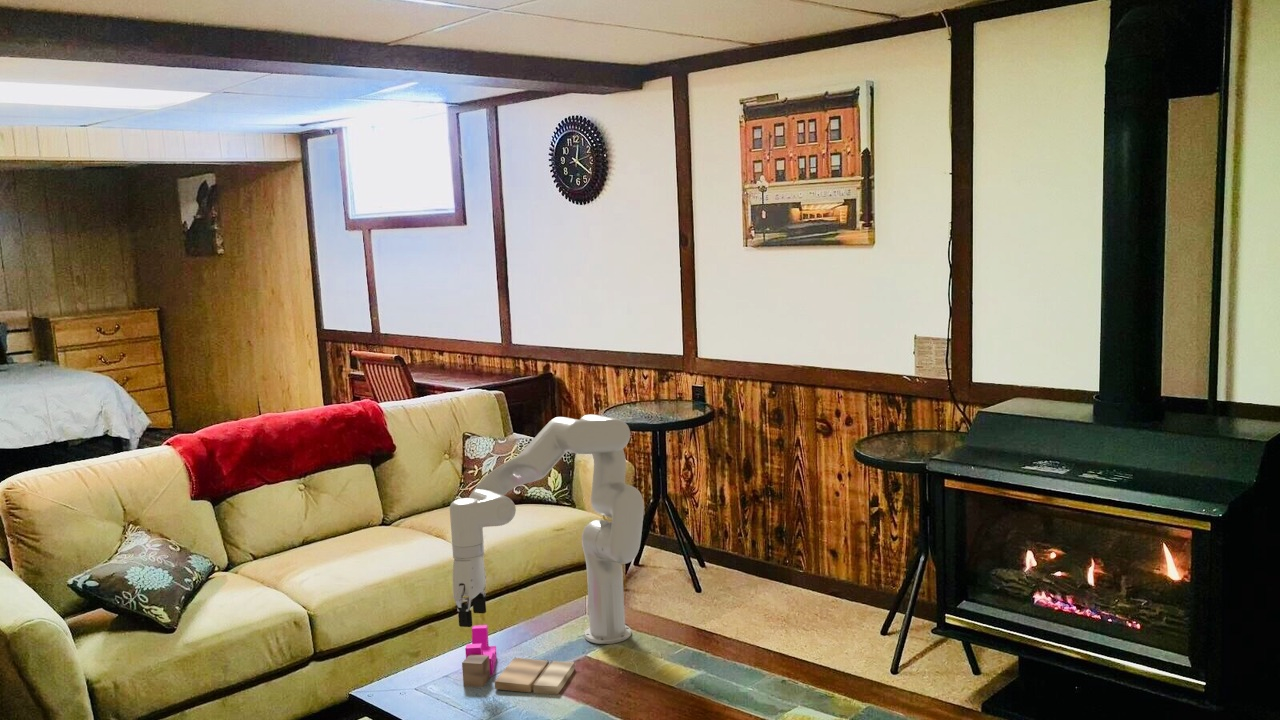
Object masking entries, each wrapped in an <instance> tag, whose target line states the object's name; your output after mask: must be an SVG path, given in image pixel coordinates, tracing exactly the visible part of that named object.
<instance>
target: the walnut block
mask: <svg viewBox="0 0 1280 720" xmlns="http://www.w3.org/2000/svg"><path fill="white" fill-rule="evenodd" d="M461 664H462V665H461V666H462V667H461V669H462V680H463V687H470V688H471V687H472V688H474V687H475V688H484V686H486V684H487V683H488V682H489V681H490V680H491V675H490V665H489V655H472V654H470V655H469V656H468V657H467V658H466V657H465V659H464V660H463V661H462V662H461Z"/></svg>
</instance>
